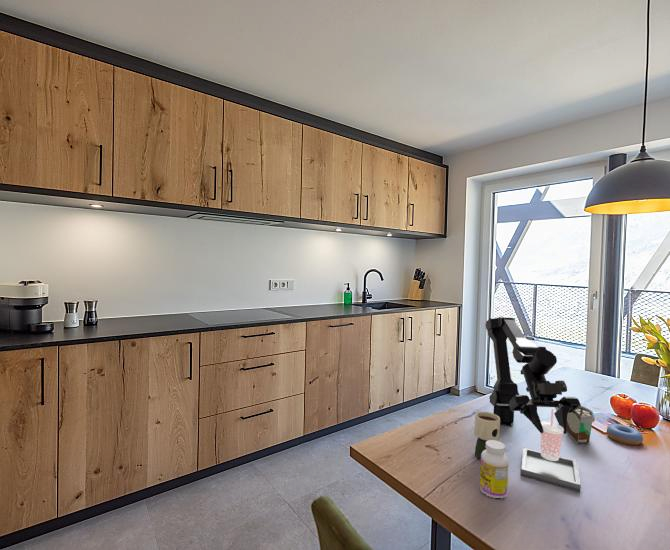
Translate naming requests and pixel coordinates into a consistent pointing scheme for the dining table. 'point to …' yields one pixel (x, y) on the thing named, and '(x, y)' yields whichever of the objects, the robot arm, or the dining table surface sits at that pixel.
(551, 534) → the dining table surface
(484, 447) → the character mug
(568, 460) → the tray
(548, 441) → the beverage cup
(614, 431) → the doughnut
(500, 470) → the supplement bottle
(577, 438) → the food container
